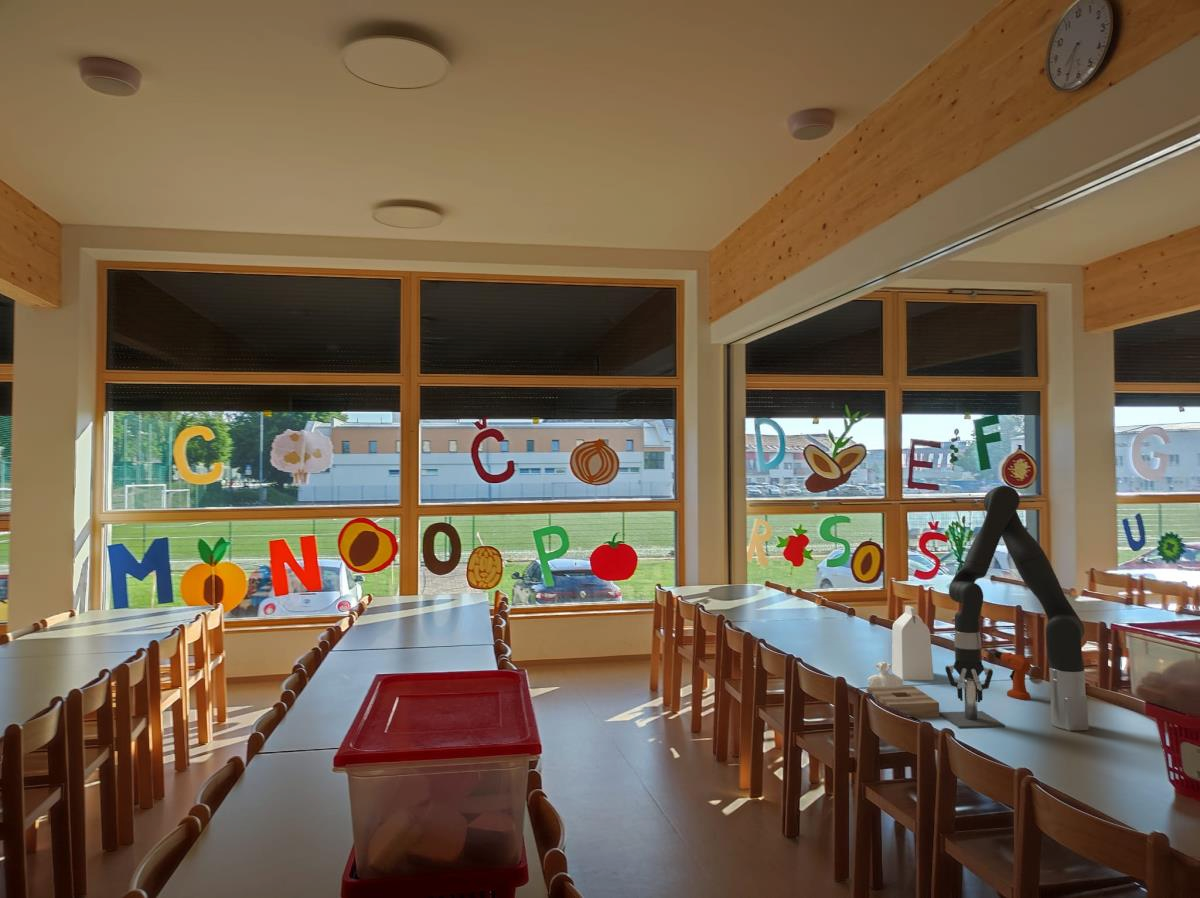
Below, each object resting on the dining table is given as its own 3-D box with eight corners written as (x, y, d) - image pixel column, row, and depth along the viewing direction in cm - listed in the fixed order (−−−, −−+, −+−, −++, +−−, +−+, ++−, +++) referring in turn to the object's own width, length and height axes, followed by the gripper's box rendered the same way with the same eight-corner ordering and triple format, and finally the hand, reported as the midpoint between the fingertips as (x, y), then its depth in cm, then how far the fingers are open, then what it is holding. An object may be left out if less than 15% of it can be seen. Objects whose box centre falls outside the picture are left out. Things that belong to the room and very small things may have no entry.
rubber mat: (1004, 726, 238) (1004, 724, 238) (959, 728, 238) (958, 726, 238) (981, 712, 252) (981, 710, 252) (938, 714, 252) (938, 712, 252)
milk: (891, 672, 305) (889, 604, 306) (922, 671, 305) (919, 604, 306) (902, 680, 293) (899, 609, 294) (933, 679, 293) (931, 609, 294)
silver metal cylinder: (979, 720, 243) (979, 680, 244) (968, 720, 243) (967, 681, 244) (974, 716, 247) (973, 677, 247) (962, 716, 247) (962, 677, 247)
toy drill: (987, 681, 283) (990, 640, 282) (1033, 701, 266) (1036, 658, 265) (977, 683, 281) (980, 642, 280) (1022, 703, 264) (1026, 659, 263)
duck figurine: (902, 698, 278) (896, 667, 285) (906, 689, 272) (900, 658, 280) (867, 697, 280) (862, 667, 287) (871, 689, 274) (865, 658, 281)
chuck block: (939, 717, 249) (939, 702, 249) (889, 718, 249) (888, 704, 249) (913, 699, 269) (913, 685, 269) (866, 700, 269) (866, 687, 269)
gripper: (992, 644, 246) (995, 699, 246) (943, 641, 252) (945, 695, 252) (993, 649, 240) (996, 706, 239) (942, 646, 245) (944, 702, 245)
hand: (970, 700), depth 245 cm, fingers open, 4 cm apart
